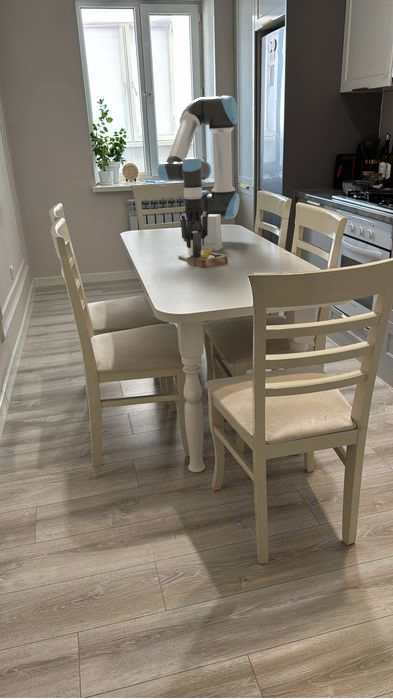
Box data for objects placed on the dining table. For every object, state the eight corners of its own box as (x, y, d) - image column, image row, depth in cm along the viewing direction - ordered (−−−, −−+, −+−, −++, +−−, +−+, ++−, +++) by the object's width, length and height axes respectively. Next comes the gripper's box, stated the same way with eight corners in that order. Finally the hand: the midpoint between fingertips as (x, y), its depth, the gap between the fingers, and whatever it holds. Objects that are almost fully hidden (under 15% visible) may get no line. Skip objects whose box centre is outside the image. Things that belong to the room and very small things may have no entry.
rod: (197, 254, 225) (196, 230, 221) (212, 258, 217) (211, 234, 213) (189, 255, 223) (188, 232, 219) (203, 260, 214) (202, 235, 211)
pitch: (200, 254, 231) (200, 247, 230) (228, 262, 215) (228, 255, 213) (175, 259, 225) (175, 252, 224) (202, 268, 208) (202, 260, 207)
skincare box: (222, 248, 241) (221, 214, 235) (216, 251, 236) (216, 216, 230) (206, 247, 245) (204, 213, 239) (200, 250, 239) (198, 215, 233)
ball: (213, 252, 214) (218, 258, 212) (211, 259, 216) (216, 265, 215) (206, 254, 212) (211, 259, 210) (204, 261, 215) (208, 266, 213)
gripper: (205, 195, 220) (207, 249, 229) (170, 199, 212) (174, 255, 221) (215, 196, 214) (217, 252, 224) (180, 200, 206) (183, 258, 215)
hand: (195, 254), depth 222 cm, fingers closed on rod, 4 cm apart
